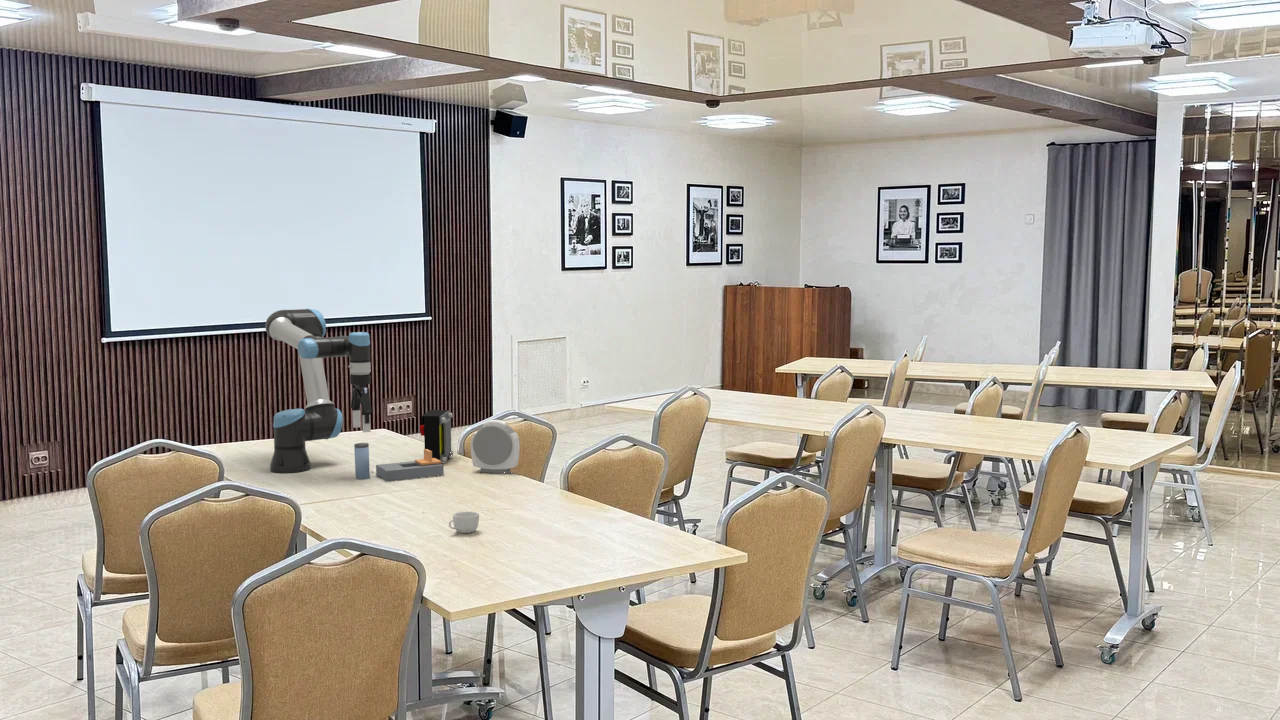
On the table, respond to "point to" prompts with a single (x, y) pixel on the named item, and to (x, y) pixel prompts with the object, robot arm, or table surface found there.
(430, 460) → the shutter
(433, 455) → the electrical component
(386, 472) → the socket block
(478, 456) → the alarm clock
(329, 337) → the robot arm
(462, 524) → the teacup
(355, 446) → the blue canister
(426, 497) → the table surface
